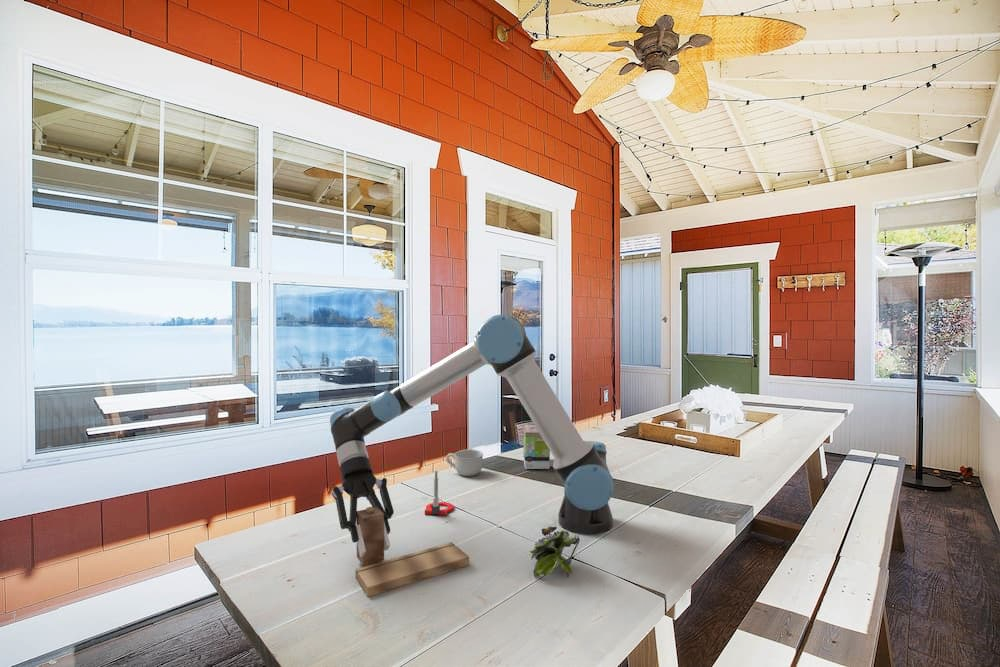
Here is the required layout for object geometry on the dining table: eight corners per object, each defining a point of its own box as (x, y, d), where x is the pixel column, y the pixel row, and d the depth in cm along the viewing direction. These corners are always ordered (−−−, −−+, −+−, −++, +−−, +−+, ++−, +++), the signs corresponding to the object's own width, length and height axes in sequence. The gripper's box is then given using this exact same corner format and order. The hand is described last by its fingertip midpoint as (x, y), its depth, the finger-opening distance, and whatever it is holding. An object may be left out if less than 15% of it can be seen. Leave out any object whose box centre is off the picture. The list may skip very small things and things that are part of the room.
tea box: (550, 470, 186) (550, 432, 186) (524, 470, 187) (524, 432, 186) (547, 459, 201) (547, 423, 201) (523, 459, 202) (522, 424, 201)
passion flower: (549, 585, 114) (564, 534, 120) (582, 597, 106) (596, 541, 111) (514, 568, 110) (532, 516, 115) (546, 579, 101) (563, 522, 107)
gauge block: (377, 551, 118) (376, 502, 118) (384, 560, 114) (383, 509, 114) (356, 557, 115) (356, 507, 115) (363, 565, 111) (362, 514, 111)
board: (451, 550, 121) (451, 541, 121) (469, 564, 113) (469, 556, 113) (355, 577, 108) (355, 568, 108) (368, 596, 101) (367, 586, 100)
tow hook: (430, 505, 153) (421, 515, 144) (430, 463, 153) (421, 471, 144) (456, 506, 151) (448, 516, 142) (456, 465, 152) (449, 472, 143)
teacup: (487, 471, 186) (487, 450, 186) (476, 479, 176) (476, 457, 175) (454, 467, 190) (453, 447, 190) (442, 476, 180) (441, 454, 180)
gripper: (384, 464, 132) (408, 548, 119) (315, 476, 122) (332, 568, 109) (391, 449, 127) (416, 534, 114) (320, 460, 118) (338, 554, 104)
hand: (375, 550), depth 111 cm, fingers closed on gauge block, 5 cm apart
